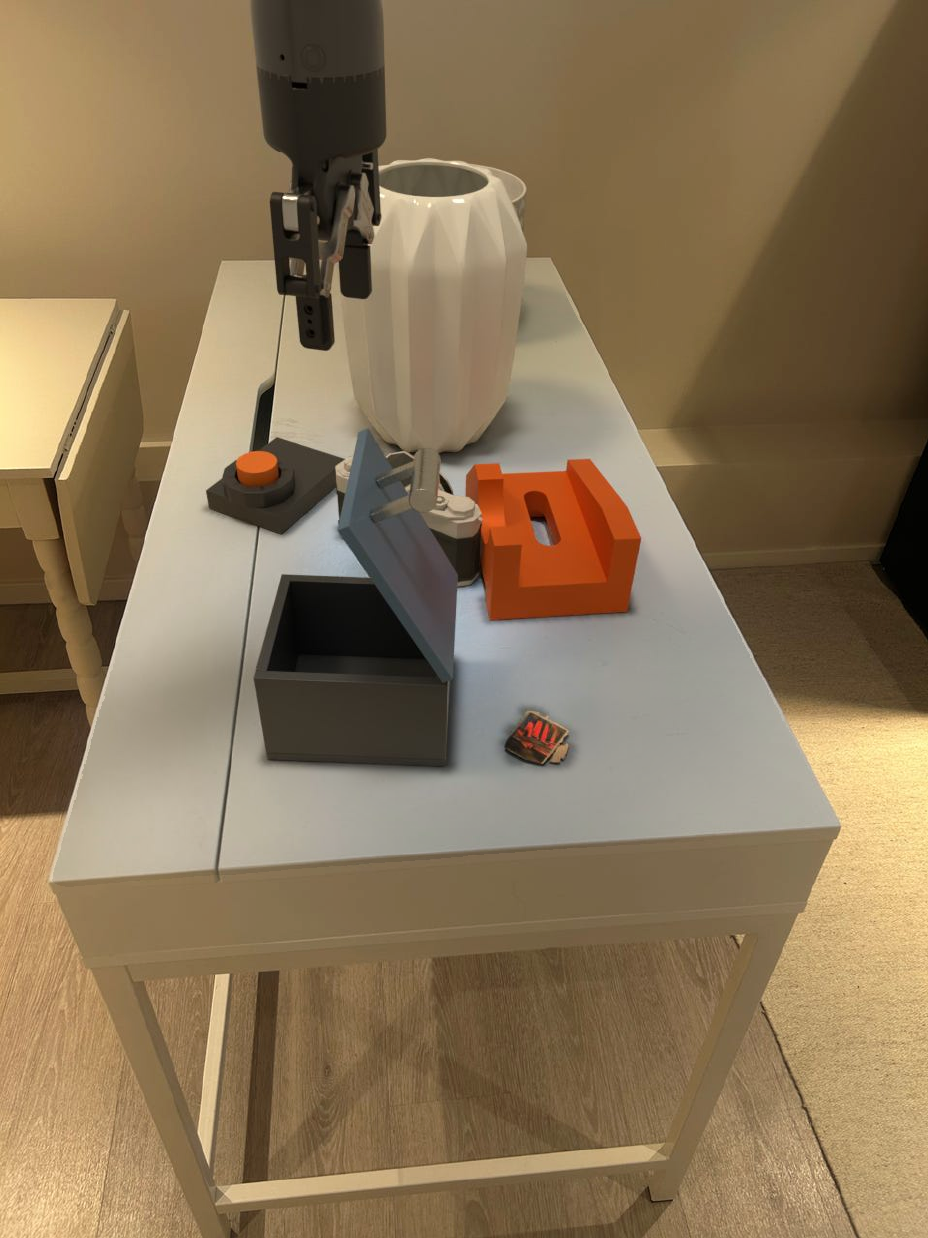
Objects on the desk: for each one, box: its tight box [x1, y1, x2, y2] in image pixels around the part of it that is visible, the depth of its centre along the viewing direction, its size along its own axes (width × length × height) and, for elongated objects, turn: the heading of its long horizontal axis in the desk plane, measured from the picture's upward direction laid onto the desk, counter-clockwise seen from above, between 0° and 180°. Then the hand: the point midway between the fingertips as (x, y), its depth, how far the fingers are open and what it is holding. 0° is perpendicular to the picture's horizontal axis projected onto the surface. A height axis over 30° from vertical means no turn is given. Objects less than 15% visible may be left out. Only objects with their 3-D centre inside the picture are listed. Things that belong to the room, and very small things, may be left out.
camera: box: [335, 450, 483, 588], centre depth 89 cm, size 16×9×10 cm, turn 58°
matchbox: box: [504, 709, 570, 765], centre depth 73 cm, size 5×5×1 cm
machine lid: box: [337, 427, 458, 683], centre depth 64 cm, size 14×12×5 cm
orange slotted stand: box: [464, 458, 642, 621], centre depth 88 cm, size 18×13×8 cm
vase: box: [336, 157, 528, 455], centre depth 99 cm, size 20×20×28 cm
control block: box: [205, 436, 346, 535], centre depth 96 cm, size 12×9×4 cm
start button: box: [236, 450, 279, 486], centre depth 93 cm, size 4×4×2 cm
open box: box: [253, 573, 451, 767], centre depth 73 cm, size 14×12×9 cm
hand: (338, 320), depth 66 cm, fingers open, 8 cm apart
